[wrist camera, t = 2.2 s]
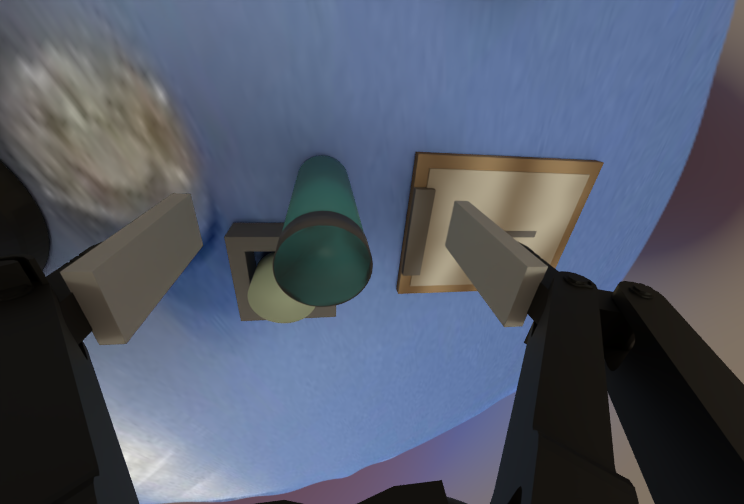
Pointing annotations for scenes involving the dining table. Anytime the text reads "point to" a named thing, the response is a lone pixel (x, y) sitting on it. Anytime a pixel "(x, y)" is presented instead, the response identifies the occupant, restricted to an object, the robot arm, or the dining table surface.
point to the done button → (273, 296)
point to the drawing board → (488, 209)
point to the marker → (322, 238)
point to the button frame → (242, 263)
